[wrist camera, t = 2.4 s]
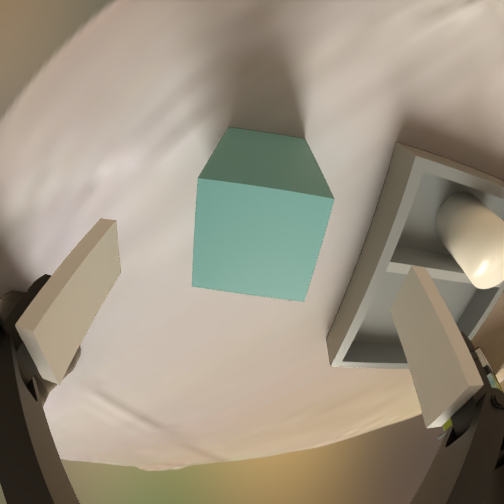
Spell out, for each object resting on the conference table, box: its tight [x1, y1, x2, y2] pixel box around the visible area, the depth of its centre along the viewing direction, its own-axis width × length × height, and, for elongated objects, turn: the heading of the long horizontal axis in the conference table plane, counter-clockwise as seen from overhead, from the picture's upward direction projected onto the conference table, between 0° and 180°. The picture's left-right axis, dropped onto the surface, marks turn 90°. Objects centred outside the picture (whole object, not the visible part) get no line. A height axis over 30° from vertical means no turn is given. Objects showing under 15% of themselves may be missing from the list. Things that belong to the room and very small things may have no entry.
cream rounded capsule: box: [435, 192, 504, 289], centre depth 23 cm, size 6×6×7 cm
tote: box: [326, 142, 504, 369], centre depth 28 cm, size 17×23×4 cm
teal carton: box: [192, 127, 334, 302], centre depth 20 cm, size 6×6×12 cm
